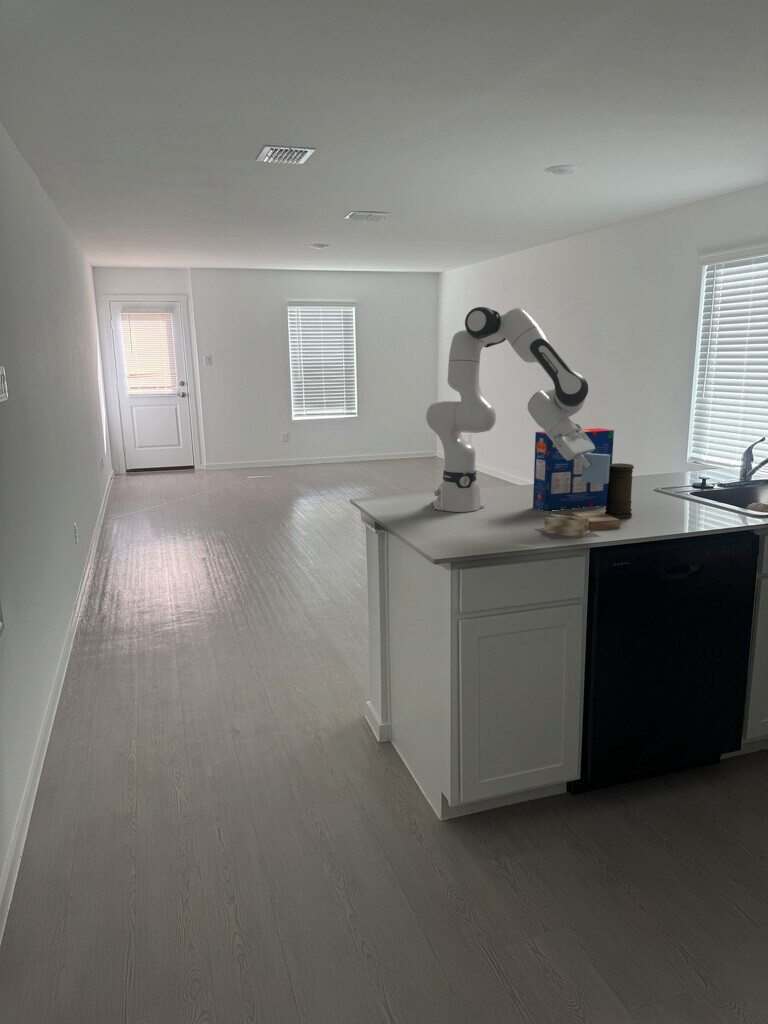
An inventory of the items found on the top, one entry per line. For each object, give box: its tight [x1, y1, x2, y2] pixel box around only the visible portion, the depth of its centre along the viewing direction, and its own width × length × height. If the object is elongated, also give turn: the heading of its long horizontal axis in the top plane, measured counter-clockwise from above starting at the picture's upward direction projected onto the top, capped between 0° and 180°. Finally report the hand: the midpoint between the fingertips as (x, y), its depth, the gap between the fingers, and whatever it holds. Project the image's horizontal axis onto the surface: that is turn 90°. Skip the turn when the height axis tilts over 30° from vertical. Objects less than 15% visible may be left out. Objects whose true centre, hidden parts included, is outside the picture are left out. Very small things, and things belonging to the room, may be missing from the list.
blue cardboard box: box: [532, 427, 615, 512], centre depth 258 cm, size 28×8×28 cm, turn 111°
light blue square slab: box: [582, 453, 610, 484], centre depth 226 cm, size 8×2×9 cm, turn 54°
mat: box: [533, 527, 600, 541], centre depth 221 cm, size 14×16×1 cm
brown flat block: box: [570, 510, 621, 531], centre depth 232 cm, size 14×10×3 cm
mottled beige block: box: [542, 513, 591, 538], centre depth 221 cm, size 13×7×5 cm, turn 57°
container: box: [604, 462, 635, 520], centre depth 242 cm, size 9×9×18 cm
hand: (591, 465), depth 227 cm, fingers closed on light blue square slab, 2 cm apart
